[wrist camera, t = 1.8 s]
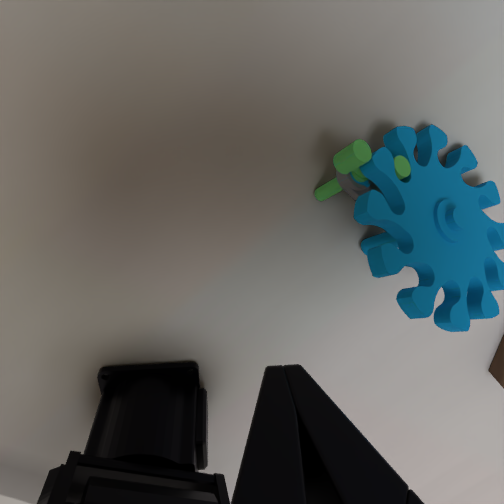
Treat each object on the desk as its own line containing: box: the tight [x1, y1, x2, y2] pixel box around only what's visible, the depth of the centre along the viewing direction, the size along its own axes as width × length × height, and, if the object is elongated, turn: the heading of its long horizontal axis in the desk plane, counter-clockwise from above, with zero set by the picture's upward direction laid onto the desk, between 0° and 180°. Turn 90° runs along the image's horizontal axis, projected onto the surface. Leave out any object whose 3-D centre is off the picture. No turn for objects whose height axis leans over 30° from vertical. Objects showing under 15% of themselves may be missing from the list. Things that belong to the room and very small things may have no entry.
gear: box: [315, 124, 504, 332], centre depth 20 cm, size 11×6×10 cm
